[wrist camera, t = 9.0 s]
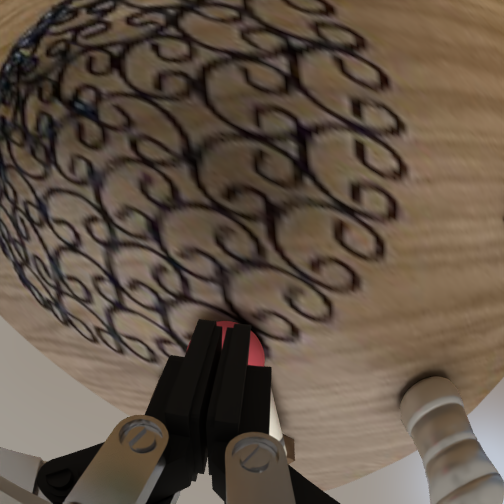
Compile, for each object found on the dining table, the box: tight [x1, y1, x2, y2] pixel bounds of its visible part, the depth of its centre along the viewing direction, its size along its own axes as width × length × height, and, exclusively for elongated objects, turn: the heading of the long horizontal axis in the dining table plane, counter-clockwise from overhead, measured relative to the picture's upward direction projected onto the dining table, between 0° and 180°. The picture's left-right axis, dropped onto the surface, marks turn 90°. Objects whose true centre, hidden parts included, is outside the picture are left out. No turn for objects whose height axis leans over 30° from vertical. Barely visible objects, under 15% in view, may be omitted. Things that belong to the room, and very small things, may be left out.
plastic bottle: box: [400, 376, 504, 504], centre depth 18 cm, size 6×7×20 cm
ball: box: [186, 321, 265, 366], centre depth 23 cm, size 6×6×6 cm
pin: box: [269, 389, 287, 456], centre depth 26 cm, size 2×2×9 cm
